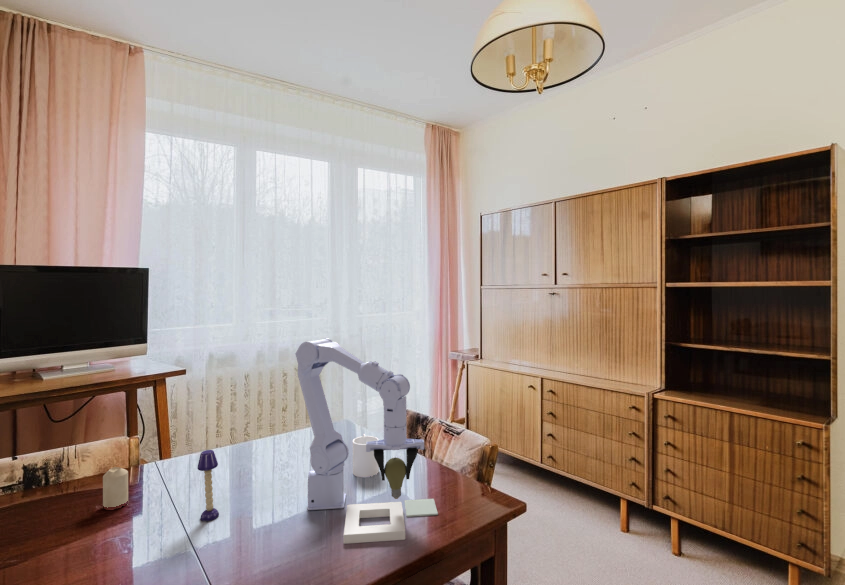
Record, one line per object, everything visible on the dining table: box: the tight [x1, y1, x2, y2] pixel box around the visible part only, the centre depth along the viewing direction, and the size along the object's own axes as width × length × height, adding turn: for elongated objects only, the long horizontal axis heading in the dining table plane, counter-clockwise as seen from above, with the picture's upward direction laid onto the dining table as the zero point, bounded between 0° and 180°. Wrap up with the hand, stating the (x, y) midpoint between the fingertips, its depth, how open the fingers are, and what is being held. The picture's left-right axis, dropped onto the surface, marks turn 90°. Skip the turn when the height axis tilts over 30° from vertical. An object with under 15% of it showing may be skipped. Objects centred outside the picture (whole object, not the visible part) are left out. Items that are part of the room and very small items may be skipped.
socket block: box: [343, 501, 406, 545], centre depth 106 cm, size 14×14×2 cm
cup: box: [352, 433, 380, 478], centre depth 139 cm, size 8×12×10 cm
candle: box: [102, 466, 129, 508], centre depth 116 cm, size 6×6×10 cm
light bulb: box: [384, 457, 406, 500], centre depth 109 cm, size 6×6×10 cm
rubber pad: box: [404, 498, 439, 518], centre depth 114 cm, size 8×8×1 cm
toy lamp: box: [197, 449, 220, 522], centre depth 110 cm, size 5×5×17 cm
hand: (395, 478), depth 110 cm, fingers closed on light bulb, 5 cm apart
